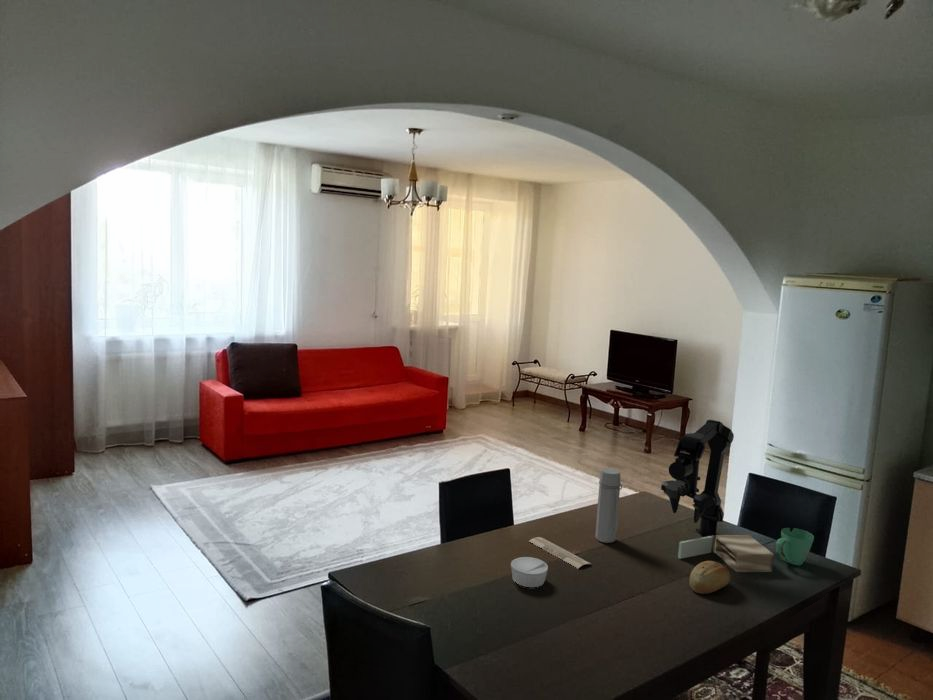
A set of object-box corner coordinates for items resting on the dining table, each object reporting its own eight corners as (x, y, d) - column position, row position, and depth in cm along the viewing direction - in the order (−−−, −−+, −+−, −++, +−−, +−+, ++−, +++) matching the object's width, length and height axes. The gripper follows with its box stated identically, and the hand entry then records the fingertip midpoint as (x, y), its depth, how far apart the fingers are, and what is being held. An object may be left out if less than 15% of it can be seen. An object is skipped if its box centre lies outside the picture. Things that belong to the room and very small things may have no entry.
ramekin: (545, 593, 193) (546, 575, 192) (507, 587, 195) (508, 570, 194) (548, 575, 204) (549, 559, 203) (512, 570, 206) (513, 554, 205)
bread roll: (737, 587, 202) (740, 563, 201) (710, 601, 192) (713, 575, 191) (708, 575, 209) (711, 551, 208) (681, 588, 200) (684, 563, 199)
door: (711, 550, 227) (712, 535, 226) (713, 551, 226) (715, 536, 225) (677, 557, 220) (679, 541, 219) (680, 558, 219) (681, 542, 218)
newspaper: (591, 567, 212) (591, 562, 212) (575, 572, 208) (576, 566, 208) (541, 540, 231) (541, 535, 231) (526, 544, 227) (526, 539, 227)
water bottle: (590, 537, 234) (595, 468, 231) (608, 534, 237) (613, 466, 234) (605, 547, 226) (611, 476, 223) (624, 544, 229) (630, 474, 226)
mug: (789, 553, 228) (792, 525, 227) (816, 565, 220) (820, 536, 219) (762, 561, 221) (765, 532, 220) (789, 573, 213) (793, 544, 211)
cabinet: (714, 551, 227) (715, 535, 226) (747, 551, 228) (748, 535, 227) (736, 572, 212) (738, 554, 211) (771, 571, 213) (773, 554, 213)
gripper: (651, 467, 226) (647, 511, 228) (693, 484, 210) (689, 531, 212) (674, 464, 232) (670, 507, 234) (718, 480, 215) (713, 526, 218)
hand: (684, 517), depth 224 cm, fingers open, 9 cm apart
